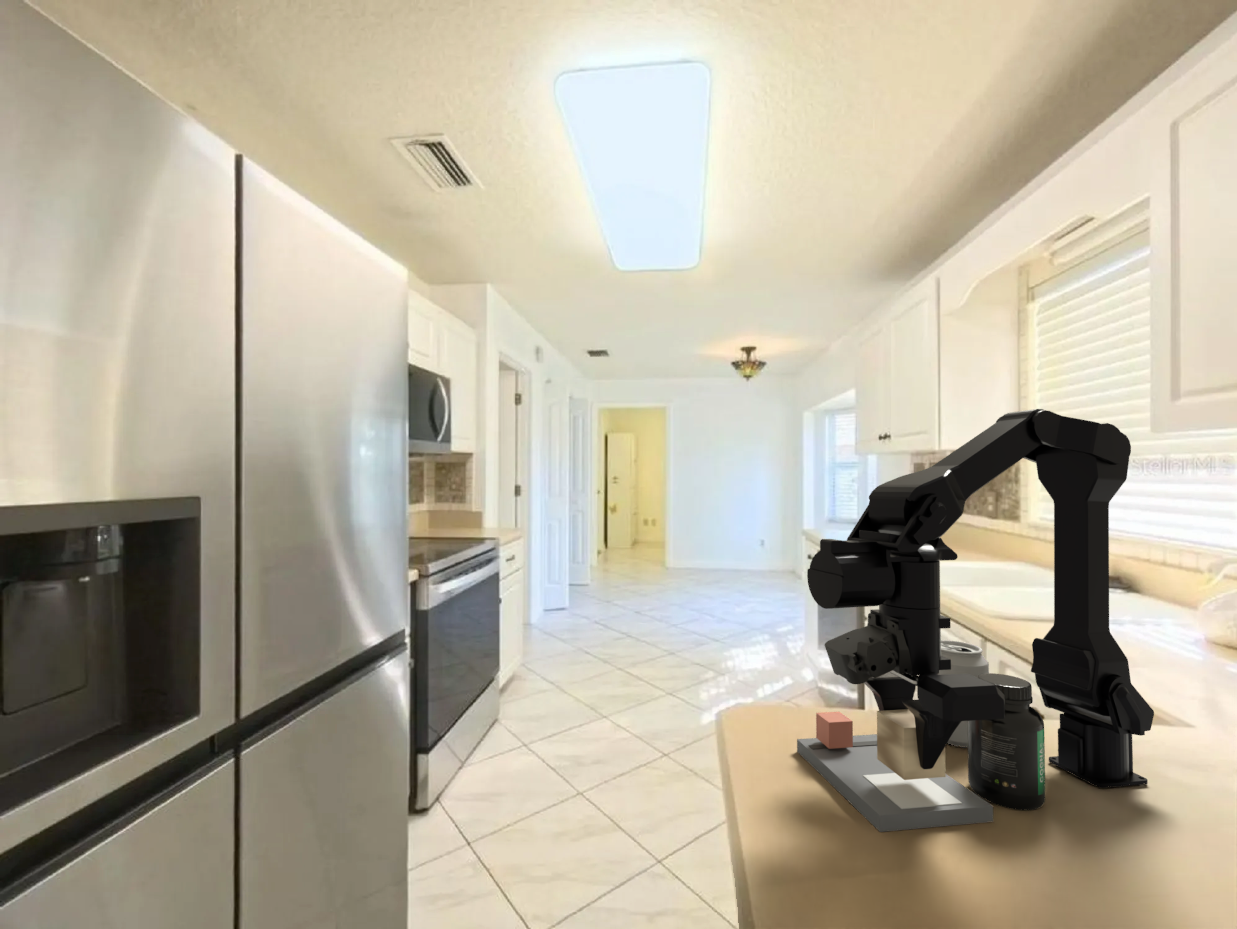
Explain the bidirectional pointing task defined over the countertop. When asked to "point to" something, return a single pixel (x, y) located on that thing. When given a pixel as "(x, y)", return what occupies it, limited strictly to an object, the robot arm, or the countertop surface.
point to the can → (963, 662)
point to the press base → (892, 789)
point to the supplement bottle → (1009, 749)
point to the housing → (903, 746)
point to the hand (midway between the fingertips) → (910, 757)
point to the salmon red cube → (834, 730)
